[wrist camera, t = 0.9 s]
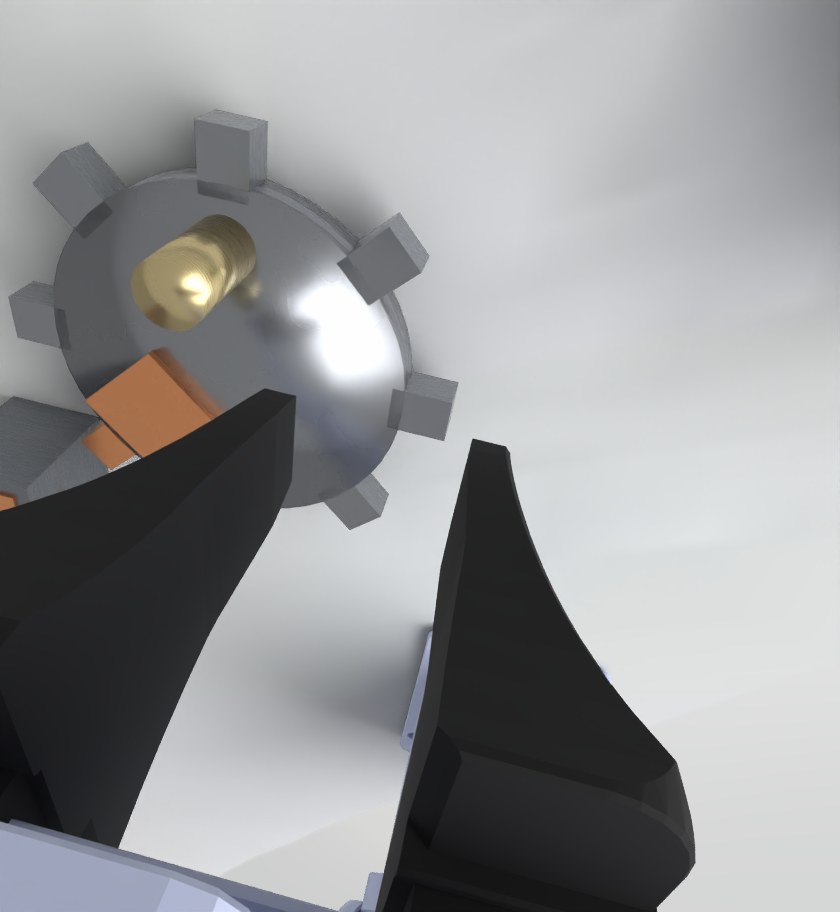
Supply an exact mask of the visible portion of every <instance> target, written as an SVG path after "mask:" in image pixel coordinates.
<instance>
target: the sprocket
mask: <svg viewBox="0 0 840 912" xmlns="http://www.w3.org/2000/svg"><path fill="white" fill-rule="evenodd" d="M194 126H195V149H196V168H186V169H179V170H172V171H167V172H164V173H161V174H157V175H154V176H151V177H148V178H146V179H144V180H142V181H140V182H138V183H136V184H134V185H132V186H130V187H128V188H127V187H126V186H125V185H124V184H123V183H122V182H121V180H120V179H119V178H118V177H117V176H116V175H115V173H114V172H113V171H112V170H111V169H110V168H109V166H108V165H107V164H106V163H105V162H104V161H103V159H102V158H101V157H100V156H99V155H98V153H97V152H96V151H95V150H94V149H93V148H92V146H91V145H90V144H89V143H88V142H87V143H85V144H82V145H80V146H77V147H74V148H72V149H69V150H67V151H64V152H62V153H61V154H60V155H59V156H58V157H57V158H56V159H55V160H54V161H53V162H52V163H51V164H50V165H49V166H48V168H47V169H46V170H45V171H44V172H43V173H42V174H41V175H40V176H39V177H38V178H37V179H36V180H35V181H34V183H33V184H34V185H35V186H36V187H37V189H38V190H39V191H40V192H41V193H42V194H43V195H44V196H45V197H46V198H47V199H48V201H49V202H50V203H51V204H52V205H53V206H54V207H55V208H56V209H57V210H58V212H59V213H60V214H61V215H62V216H63V217H64V218H65V219H66V220H67V221H68V222H69V224H70V225H71V226H72V227H73V228H74V230H73V232H72V234H71V235H70V237H69V239H68V241H67V242H66V244H65V246H64V248H63V251H62V254H61V257H60V260H59V262H58V265H57V270H56V276H55V282H54V286H51V285H46V284H42V283H38V282H34V281H33V282H32V283H30V284H28V285H27V286H25V287H23V288H22V289H20V290H19V291H17V292H15V293H14V294H12V295H10V296H9V301H10V306H11V310H12V314H13V319H14V323H15V327H16V332H17V336H18V338H22V339H26V340H30V341H34V342H38V343H43V344H47V345H51V346H55V347H59V348H61V349H62V352H63V355H64V357H65V360H66V362H67V365H68V368H69V370H70V372H71V374H72V376H73V378H74V380H75V382H76V384H77V385H78V387H79V389H80V391H81V392H82V394H83V395H84V397H85V398H86V400H85V402H86V403H87V404H88V405H89V406H90V407H91V408H92V409H93V410H94V411H95V413H96V414H97V415H98V416H99V418H100V419H101V420H102V421H101V422H100V423H99V424H98V425H97V426H96V427H95V428H94V429H93V430H92V431H91V432H90V433H89V434H88V435H87V436H86V437H85V438H84V439H83V440H82V441H81V442H82V443H83V444H84V445H85V446H86V447H87V448H88V449H89V450H91V451H92V452H93V453H94V454H95V455H96V456H97V457H98V458H99V459H100V460H101V461H102V462H103V463H104V464H105V465H106V466H108V467H109V468H110V469H111V470H112V469H114V468H115V467H117V466H118V465H120V464H121V463H123V462H125V461H126V460H128V459H129V458H131V457H132V456H134V455H137V456H138V457H140V458H143V457H145V456H147V455H149V454H151V453H153V452H155V451H157V450H159V449H161V448H163V447H165V446H167V445H168V444H170V443H172V442H174V441H176V440H178V439H180V438H182V437H184V436H185V435H187V434H189V433H191V432H192V431H194V430H196V429H197V428H199V427H201V426H203V425H204V424H206V423H208V422H209V421H211V420H213V419H214V418H216V417H218V416H219V415H221V414H223V413H224V412H226V411H228V410H229V409H231V408H232V407H234V406H236V405H237V404H239V403H241V402H242V401H244V400H246V399H247V398H249V397H251V396H252V395H254V394H256V393H257V392H259V391H261V390H262V389H264V388H266V389H270V390H274V391H278V392H282V393H287V394H291V395H295V396H296V413H295V432H294V450H293V469H292V482H291V484H290V487H289V489H288V491H287V494H286V496H285V499H284V501H283V504H282V506H281V508H293V507H301V506H307V505H312V504H316V503H320V502H323V501H324V502H325V504H326V505H327V506H328V507H329V508H330V509H331V510H332V511H333V512H334V513H335V515H336V516H337V517H338V518H339V519H340V520H341V521H342V522H343V523H344V524H345V525H346V527H347V528H348V529H349V530H351V529H353V528H356V527H358V526H360V525H363V524H365V523H367V522H369V521H372V520H374V519H376V518H378V517H381V514H382V512H383V509H384V506H385V503H386V500H387V498H388V495H389V494H388V493H387V492H386V490H385V489H384V488H383V487H382V486H381V485H380V483H379V482H378V481H377V480H376V479H375V477H374V476H373V475H372V474H371V472H372V471H373V470H374V469H375V468H376V467H377V466H378V465H379V464H380V462H381V461H382V459H383V458H384V456H385V455H386V453H387V452H388V450H389V449H390V447H391V445H392V442H393V440H394V438H395V435H396V433H397V431H398V430H401V431H405V432H409V433H413V434H417V435H421V436H426V437H430V438H434V439H438V440H442V441H444V439H445V436H446V432H447V429H448V425H449V422H450V418H451V413H452V409H453V404H454V400H455V395H456V391H457V387H458V382H455V381H450V380H446V379H442V378H438V377H434V376H429V375H425V374H421V373H417V372H413V371H412V351H411V345H410V340H409V334H408V329H407V326H406V323H405V320H404V317H403V314H402V311H401V308H400V305H399V303H398V301H397V299H396V297H395V294H394V292H393V290H395V289H396V288H398V287H399V286H401V285H402V284H404V283H406V282H407V281H409V280H410V279H412V278H413V277H415V276H417V275H418V274H420V273H421V272H422V270H423V268H424V266H425V264H426V262H427V260H428V258H429V255H428V253H427V252H426V250H425V249H424V247H423V246H422V244H421V243H420V242H419V240H418V239H417V237H416V236H415V234H414V233H413V231H412V230H411V228H410V227H409V226H408V224H407V223H406V221H405V220H404V218H403V217H402V215H401V214H400V212H399V213H398V214H396V215H395V216H393V217H392V218H390V219H389V220H388V221H386V222H385V223H383V224H382V225H380V226H379V227H378V228H376V229H375V230H373V231H372V232H371V233H369V234H368V235H366V236H365V237H363V238H362V239H361V240H359V241H358V240H357V239H356V238H355V237H354V236H353V235H352V234H351V233H350V232H349V231H348V230H347V229H346V228H345V227H344V226H343V225H341V224H340V223H339V222H338V221H337V220H336V219H334V218H333V217H332V216H331V215H329V214H328V213H327V212H325V211H324V210H323V209H321V208H320V207H319V206H317V205H316V204H314V203H313V202H311V201H309V200H308V199H306V198H304V197H303V196H301V195H299V194H298V193H296V192H294V191H292V190H290V189H288V188H286V187H283V186H281V185H279V184H277V183H274V182H272V181H270V180H267V128H268V121H265V120H260V119H256V118H251V117H246V116H242V115H237V114H233V113H228V112H224V111H219V110H213V111H211V112H209V113H206V114H204V115H202V116H200V117H197V118H195V119H194Z"/></svg>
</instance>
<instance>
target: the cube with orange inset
mask: <svg viewBox="0 0 840 912" xmlns="http://www.w3.org/2000/svg"><path fill="white" fill-rule="evenodd" d="M99 423H100V418H99V417H95V416H91V415H87V414H83V413H79V412H75V411H71V410H67V409H63V408H59V407H55V406H51V405H47V404H43V403H39V402H35V401H31V400H27V399H23V398H19V397H15V396H14V397H12V398H11V399H10V400H9V401H7V402H6V403H5V404H3V405H2V406H1V407H0V511H1V510H5V509H9V508H12V507H16V506H19V505H22V504H25V503H28V502H31V501H34V500H37V499H40V498H43V497H46V496H49V495H52V494H55V493H58V492H61V491H64V490H67V489H70V488H73V487H76V486H79V485H81V484H84V483H86V482H89V481H91V480H94V479H96V478H99V477H101V476H104V475H106V474H108V467H107V466H106V465H105V464H104V463H103V462H102V461H101V460H100V459H99V458H98V457H97V456H96V455H95V454H94V453H93V452H92V451H91V450H89V449H88V448H87V447H86V446H85V445H84V444H83V443H82V442H81V441H82V440H83V439H84V438H85V437H86V436H87V435H88V434H89V433H90V432H91V431H92V430H93V429H94V428H95V427H96V426H97V425H98V424H99Z"/></svg>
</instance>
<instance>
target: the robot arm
mask: <svg viewBox="0 0 840 912" xmlns="http://www.w3.org/2000/svg"><path fill="white" fill-rule="evenodd" d="M295 413H296V396H295V395H291V394H287V393H282V392H278V391H274V390H270V389H266V388H264V389H262V390H261V391H259V392H257V393H256V394H254V395H252V396H251V397H249V398H247V399H246V400H244V401H242V402H241V403H239V404H237V405H236V406H234V407H232V408H231V409H229V410H228V411H226V412H224V413H223V414H221V415H219V416H218V417H216V418H214V419H213V420H211V421H209V422H208V423H206V424H204V425H203V426H201V427H199V428H197V429H196V430H194V431H192V432H191V433H189V434H187V435H185V436H184V437H182V438H180V439H178V440H176V441H174V442H172V443H170V444H168V445H167V446H165V447H163V448H161V449H159V450H157V451H155V452H153V453H151V454H149V455H147V456H145V457H143V458H141V459H140V460H137V461H135V462H133V463H131V464H129V465H127V466H125V467H122V468H120V469H118V470H116V471H113V472H111V473H108V474H106V475H104V476H101V477H99V478H96V479H94V480H91V481H89V482H86V483H84V484H81V485H79V486H76V487H73V488H70V489H67V490H64V491H61V492H58V493H55V494H52V495H49V496H46V497H43V498H40V499H37V500H34V501H31V502H28V503H25V504H22V505H19V506H16V507H12V508H9V509H5V510H1V511H0V912H657V907H658V906H659V905H660V904H661V903H662V902H663V901H664V900H665V899H666V897H668V896H669V894H670V893H671V892H672V891H673V890H674V889H675V888H676V887H677V886H678V885H679V884H680V883H681V882H682V881H683V880H684V879H685V878H686V877H687V876H688V874H689V873H690V871H691V869H692V868H693V866H694V864H695V844H694V843H695V842H694V832H693V826H692V819H691V815H690V811H689V807H688V802H687V798H686V795H685V790H684V787H683V783H682V779H681V776H680V772H679V768H678V765H677V762H676V761H675V759H674V758H673V757H672V756H671V755H670V754H669V753H668V751H667V750H666V749H665V748H664V747H663V746H662V745H661V743H660V742H659V741H658V740H657V739H656V738H655V737H654V735H653V734H652V733H651V732H650V731H649V730H648V729H647V727H646V726H645V725H644V724H643V723H642V722H641V721H640V720H639V718H638V717H637V716H636V715H635V714H634V713H633V712H632V710H631V709H630V708H629V707H628V705H627V704H626V703H625V701H624V700H623V699H622V698H621V696H620V695H619V694H618V692H617V691H616V690H615V688H614V687H613V686H612V681H611V677H610V675H608V674H607V673H605V672H603V671H602V670H601V668H600V667H599V665H598V664H597V662H596V661H595V659H594V658H593V656H592V655H591V653H590V652H589V650H588V649H587V647H586V646H585V644H584V643H583V641H582V640H581V638H580V637H579V635H578V634H577V632H576V630H575V628H574V627H573V625H572V623H571V621H570V620H569V618H568V616H567V614H566V613H565V611H564V609H563V607H562V605H561V603H560V601H559V599H558V597H557V596H556V594H555V592H554V590H553V588H552V586H551V583H550V581H549V579H548V577H547V575H546V573H545V570H544V568H543V566H542V563H541V561H540V558H539V556H538V554H537V551H536V549H535V546H534V544H533V541H532V538H531V536H530V533H529V530H528V527H527V524H526V521H525V518H524V515H523V512H522V508H521V505H520V502H519V498H518V494H517V490H516V486H515V482H514V477H513V472H512V467H511V460H510V452H509V451H508V449H507V448H506V446H501V445H497V444H493V443H489V442H485V441H481V440H477V439H472V443H471V447H470V450H469V454H468V458H467V462H466V466H465V470H464V474H463V478H462V482H461V486H460V490H459V494H458V498H457V501H456V505H455V509H454V513H453V517H452V521H451V525H450V530H449V534H448V538H447V542H446V547H445V551H444V555H443V559H442V564H441V568H440V576H439V584H438V592H437V600H436V608H435V616H434V624H433V630H432V631H431V632H430V633H429V635H428V638H427V642H426V646H425V650H424V654H423V657H422V661H421V665H420V669H419V673H418V676H417V680H416V684H415V688H414V692H413V695H412V699H411V703H410V707H409V711H408V714H407V718H406V722H405V726H404V730H403V733H402V737H401V741H400V745H401V747H402V748H403V749H404V750H407V751H410V754H409V758H408V763H407V768H406V772H405V777H404V782H403V786H402V791H401V796H400V800H399V805H398V809H397V814H396V819H395V823H394V828H393V833H392V837H391V842H390V847H389V851H388V856H387V861H386V866H385V870H384V873H374V872H372V873H370V874H369V877H368V882H367V886H366V891H365V894H364V899H363V902H362V901H358V900H350V901H348V902H347V903H345V904H344V905H343V906H342V907H341V908H340V909H339V911H336V910H332V909H328V908H325V907H321V906H318V905H314V904H311V903H307V902H304V901H300V900H297V899H293V898H290V897H286V896H283V895H279V894H276V893H272V892H269V891H265V890H262V889H258V888H255V887H251V886H248V885H244V884H240V883H237V882H233V881H230V880H227V879H223V878H219V877H216V876H212V875H209V874H205V873H202V872H198V871H195V870H191V869H188V868H184V867H181V866H177V865H174V864H170V863H167V862H163V861H160V860H156V859H153V858H149V857H146V856H142V855H139V854H135V853H132V852H128V851H125V850H121V849H118V847H119V845H120V842H121V840H122V837H123V834H124V832H125V829H126V827H127V824H128V822H129V819H130V817H131V814H132V811H133V809H134V806H135V804H136V801H137V799H138V796H139V794H140V791H141V789H142V786H143V784H144V781H145V779H146V776H147V774H148V772H149V769H150V767H151V764H152V762H153V760H154V757H155V755H156V752H157V750H158V748H159V745H160V743H161V740H162V738H163V735H164V733H165V731H166V728H167V726H168V724H169V722H170V719H171V717H172V715H173V713H174V710H175V708H176V706H177V703H178V701H179V699H180V697H181V694H182V692H183V690H184V687H185V685H186V683H187V681H188V679H189V676H190V674H191V672H192V670H193V668H194V666H195V663H196V661H197V659H198V657H199V655H200V653H201V650H202V648H203V646H204V644H205V642H206V640H207V637H208V636H209V634H210V632H211V630H212V628H213V626H214V624H215V623H216V621H217V619H218V617H219V615H220V614H221V612H222V610H223V609H224V607H225V605H226V604H227V602H228V600H229V599H230V597H231V595H232V594H233V592H234V590H235V589H236V587H237V585H238V584H239V582H240V580H241V579H242V577H243V575H244V574H245V572H246V570H247V569H248V567H249V565H250V564H251V562H252V560H253V559H254V557H255V555H256V553H257V552H258V550H259V548H260V547H261V545H262V543H263V542H264V540H265V538H266V536H267V535H268V533H269V531H270V530H271V528H272V526H273V524H274V522H275V520H276V517H277V515H278V513H279V510H280V508H281V506H282V504H283V501H284V499H285V496H286V494H287V491H288V489H289V487H290V484H291V482H292V469H293V450H294V432H295Z"/></svg>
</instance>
